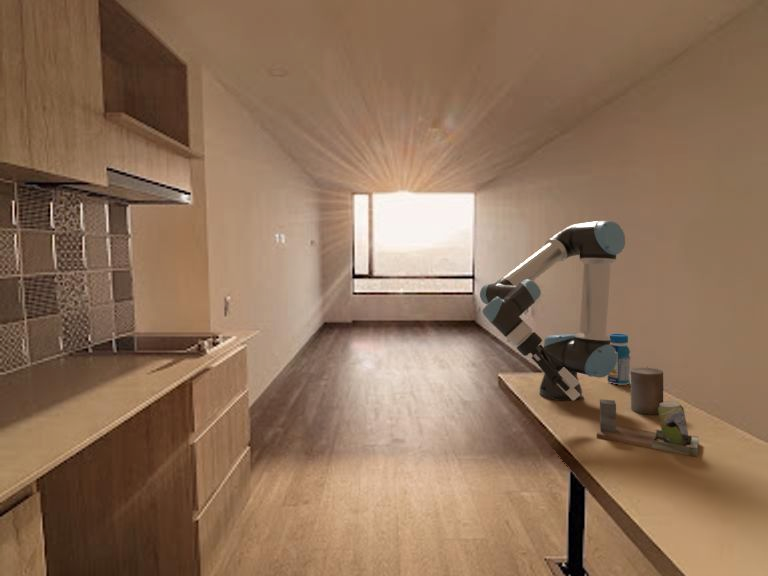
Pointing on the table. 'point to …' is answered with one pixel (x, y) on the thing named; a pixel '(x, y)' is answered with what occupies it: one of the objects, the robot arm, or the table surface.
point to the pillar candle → (646, 390)
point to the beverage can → (673, 423)
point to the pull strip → (637, 433)
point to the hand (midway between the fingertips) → (576, 391)
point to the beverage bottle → (620, 360)
